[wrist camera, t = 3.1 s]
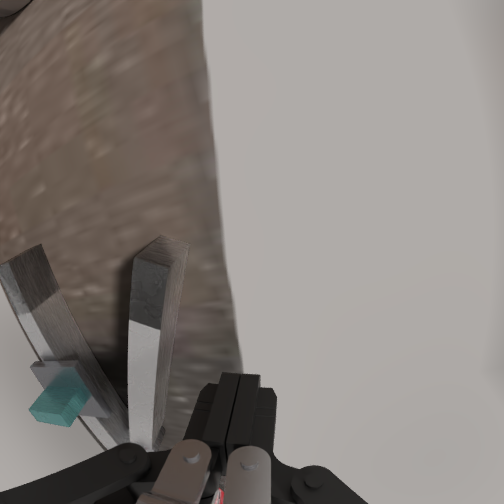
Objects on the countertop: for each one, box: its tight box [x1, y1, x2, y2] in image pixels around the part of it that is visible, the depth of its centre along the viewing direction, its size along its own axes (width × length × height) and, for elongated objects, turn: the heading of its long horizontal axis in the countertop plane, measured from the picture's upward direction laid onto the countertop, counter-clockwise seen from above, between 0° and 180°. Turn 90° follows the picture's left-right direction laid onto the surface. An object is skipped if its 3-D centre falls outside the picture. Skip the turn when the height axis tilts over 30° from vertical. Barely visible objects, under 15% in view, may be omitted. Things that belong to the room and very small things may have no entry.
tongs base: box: [0, 244, 165, 452], centre depth 22 cm, size 21×5×5 cm, turn 16°
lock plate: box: [29, 360, 112, 427], centre depth 18 cm, size 5×6×4 cm
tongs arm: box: [128, 236, 190, 450], centre depth 21 cm, size 18×2×4 cm, turn 166°
